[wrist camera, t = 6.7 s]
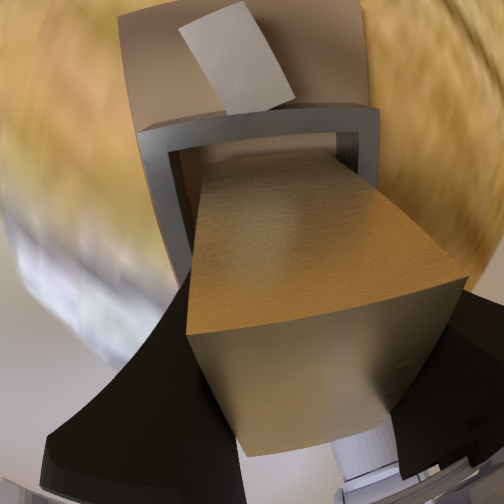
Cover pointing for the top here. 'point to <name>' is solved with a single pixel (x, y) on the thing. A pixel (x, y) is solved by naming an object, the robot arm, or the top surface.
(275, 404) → the block
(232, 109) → the brown board
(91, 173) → the top surface
